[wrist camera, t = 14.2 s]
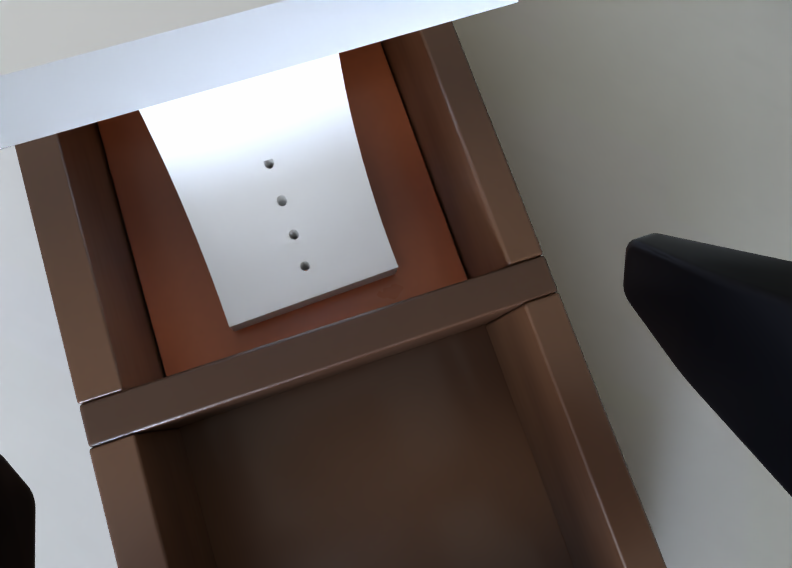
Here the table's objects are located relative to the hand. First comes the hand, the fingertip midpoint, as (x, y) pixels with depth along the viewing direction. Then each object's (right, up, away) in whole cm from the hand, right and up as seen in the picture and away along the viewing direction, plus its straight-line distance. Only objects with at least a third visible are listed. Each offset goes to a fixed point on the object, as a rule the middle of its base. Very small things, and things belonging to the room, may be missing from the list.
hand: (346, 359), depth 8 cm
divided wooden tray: (-1, -1, +8) cm, 8 cm away
